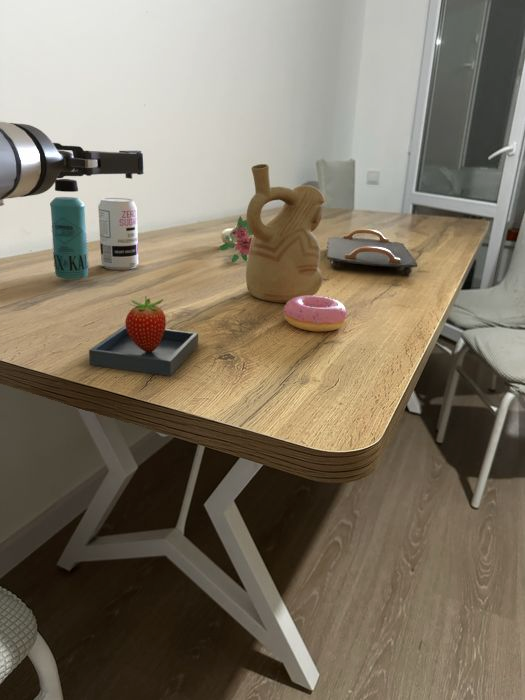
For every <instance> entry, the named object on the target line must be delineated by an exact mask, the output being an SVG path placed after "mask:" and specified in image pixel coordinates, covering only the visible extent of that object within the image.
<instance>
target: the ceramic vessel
mask: <svg viewBox="0 0 525 700" xmlns="http://www.w3.org/2000/svg"><path fill="white" fill-rule="evenodd" d="M251 173H252V177H253V183H254V190H255V194H254V195H253V196H252V198H251V199H250V201H249V203H248V206H247V208H246V220H247V224H248V227H249V230H250V232H251V233H252V234H253V235H252V241H251V244H250V248H249V255H247V262H246V267H245V268H246V269H245V283H246V288H247V291H248V292H249V294H250V295H251V296H253V297H255V298H257V299H259V300H263V301H267V302H272V303H281V304H282V303H283V304H284V303H285V304H286V303H287V301H288V300H291V299H293V298H295V297H298V296H299V297H300V296H315V295H316V294H317V293H318V292H319V290H320V289H321V286H322V284H323V281H324V280H323V279H324V278H323V274H322V271H321V269H320V268H319V265H320V260H321V246H320V243H319V240H318V239H317V237H316V236H315V235H314V233H313V232H314V231H315V230H316V229H317V228H318V227H319V225H320V223H321V220H322V216H323V215H322V212H323V204H324V203H325V202H326V199H325V195H324V193H322V191H320V189H318V188H317V187H315V186H312V185H310V184H303V185H298V186H296V187H295V188H293V189H292V188H290V187H286V186H272V187H271V182H270V166H269V165H268V164H266V163H260V164H255V165H252V167H251ZM273 201H281V202H283V203H284V204H283V206H282V207H281V210H280V211H279V212H278V213H277V215H276V216H274V217H273V219H271V220H270V221H269V222H268V223H265V224H264V223H263V221H262V218H261V215H262V210H263V208H264V206H266V205H267V204H268V203H270V202H273Z"/></svg>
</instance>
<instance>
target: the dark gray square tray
mask: <svg viewBox="0 0 525 700" xmlns="http://www.w3.org/2000/svg"><path fill="white" fill-rule="evenodd" d="M198 347H199V333H198V332H192V331H184V330H176V329H168V328H165V331H164V334H163V336H162V339H161V341H160V343H159V345H158V346H157V348H156V349H155V350H154V351H152V352H146V351H143V350H142V349H140V348H139V347H138V346H137V345H136V344H135V343H134V341H133V340H132V339H131V338H130V336H129V334H128V332H127V329H126V324H125V325H123V326H122V327H120V328H119V329H117V330H115V331H114V332H113V333H112V334H110V335H109V336H107V337H105V338H104V339H103V340H102V341H100V342H99V343H97V344H95V345H94V346H93V347H91V348H90V349H89V350H88V356H89V357H88V358H89V365H90V366H96V367H103V368H110V369H116V370H117V369H118V370H123V371H130V372H131V371H132V372H137V373H138V372H139V373H144V374H152V375H159V376H164V377H165V376H166V377H171V376H172V375H173V374H174V373H175V372H176V371H177V370H178V369H179V368H180V367H181V365H182V364H183V363H184V362H185V361H186V360H187V359H188V358H189V357H190V356H191V355H192V354H193V352H194V351H195V350H196V349H197V348H198Z"/></svg>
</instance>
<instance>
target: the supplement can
mask: <svg viewBox="0 0 525 700" xmlns="http://www.w3.org/2000/svg"><path fill="white" fill-rule="evenodd" d="M97 207H98V208H97V209H98V227H99V244H100V246H99V247H100V263H101V265H102V266H103V267H104V268H105V269H107V270H113V271H114V270H115V271H126V270H133V269H135V268H136V267H137V266H138V264H139V241H138V239H139V238H138V237H139V236H138V234H139V233H138V207H137V205H136V203H135V200H134V199H131V198H126V197H125V198H123V197H103V198H100V202H99V204H98V206H97Z"/></svg>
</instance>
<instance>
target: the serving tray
mask: <svg viewBox="0 0 525 700" xmlns="http://www.w3.org/2000/svg"><path fill="white" fill-rule="evenodd" d="M357 234H368V235H374V236H377V237H378V238H379V239H374V238H373V239H372V238H363V237H353V236H355V235H357ZM326 244H327V245H326V259H327V260H329V261H331V263H330V267H331V269H333V270H338V268H339V267H340V263H348V264H354V265H365V266H375V267H388V268H403V269H402V273H403V276H410V274H411V273H412V270H413V269H412V268H417V267H418V263H417V261H416V259H415V258H414V257H413V256H412V254H411V252H410V251H409V250H408V248H407V247H406V246H405V245H404V243H402V242H398V241H390V239H389V238H385V237H384V235H383V234H382V233H381V232H380V231H378V230H374V229H367V228H358V229H354V230H352V231H351V232H349V233H348V234H346V235H345V234H344V235H343V236H341V237H339V236H331V237H328V239H327V242H326Z"/></svg>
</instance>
